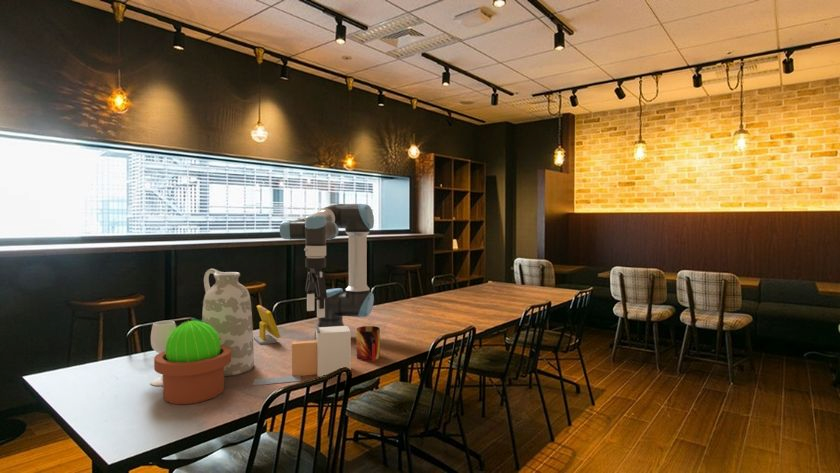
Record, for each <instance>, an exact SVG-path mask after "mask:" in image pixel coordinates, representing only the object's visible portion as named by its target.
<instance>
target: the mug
mask: <svg viewBox="0 0 840 473" xmlns="http://www.w3.org/2000/svg"><path fill="white" fill-rule="evenodd" d="M380 331H381V328H380V327H379V326H376V325H375V326H374V325H365V326H364V325H362V326H359V327H357V328H356V359H358V360H359V361H365V362H366V361H370V362H371V361H372V362H376V360H378V359H379V358H380V357H381V354H380V353H381V352H380V351H381V348H380V347H381V341H380V340H381V338H380V337H381V332H380ZM375 359H376V360H375Z"/></svg>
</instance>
